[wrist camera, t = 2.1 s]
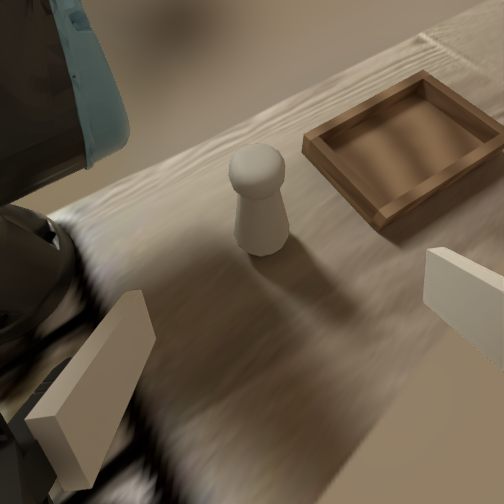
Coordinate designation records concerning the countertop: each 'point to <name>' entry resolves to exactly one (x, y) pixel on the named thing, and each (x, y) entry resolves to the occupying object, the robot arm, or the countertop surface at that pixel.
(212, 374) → the countertop surface
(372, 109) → the walnut tray
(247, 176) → the salt shaker
